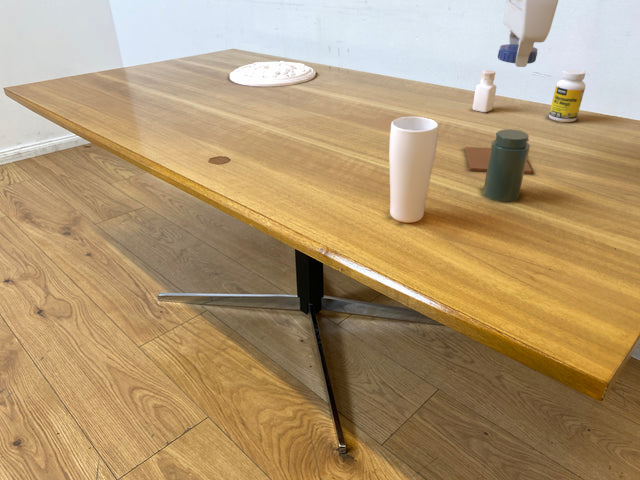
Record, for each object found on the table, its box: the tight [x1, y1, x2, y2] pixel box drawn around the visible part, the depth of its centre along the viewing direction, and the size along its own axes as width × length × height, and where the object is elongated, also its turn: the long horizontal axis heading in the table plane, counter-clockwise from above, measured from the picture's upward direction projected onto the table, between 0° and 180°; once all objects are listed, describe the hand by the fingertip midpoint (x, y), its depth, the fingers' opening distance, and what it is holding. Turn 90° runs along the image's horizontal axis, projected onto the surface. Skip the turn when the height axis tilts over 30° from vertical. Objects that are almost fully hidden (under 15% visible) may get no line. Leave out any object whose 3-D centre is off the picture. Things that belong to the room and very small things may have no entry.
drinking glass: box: [388, 116, 439, 224], centre depth 73 cm, size 7×7×15 cm
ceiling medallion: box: [229, 60, 317, 87], centre depth 158 cm, size 28×28×3 cm
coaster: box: [464, 146, 533, 175], centre depth 95 cm, size 11×11×1 cm
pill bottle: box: [548, 68, 586, 123], centre depth 113 cm, size 6×6×11 cm
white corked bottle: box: [472, 69, 497, 113], centre depth 121 cm, size 4×4×10 cm
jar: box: [482, 128, 531, 203], centre depth 80 cm, size 6×6×11 cm
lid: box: [497, 43, 538, 65], centre depth 83 cm, size 6×6×2 cm
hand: (516, 61), depth 84 cm, fingers closed on lid, 6 cm apart
